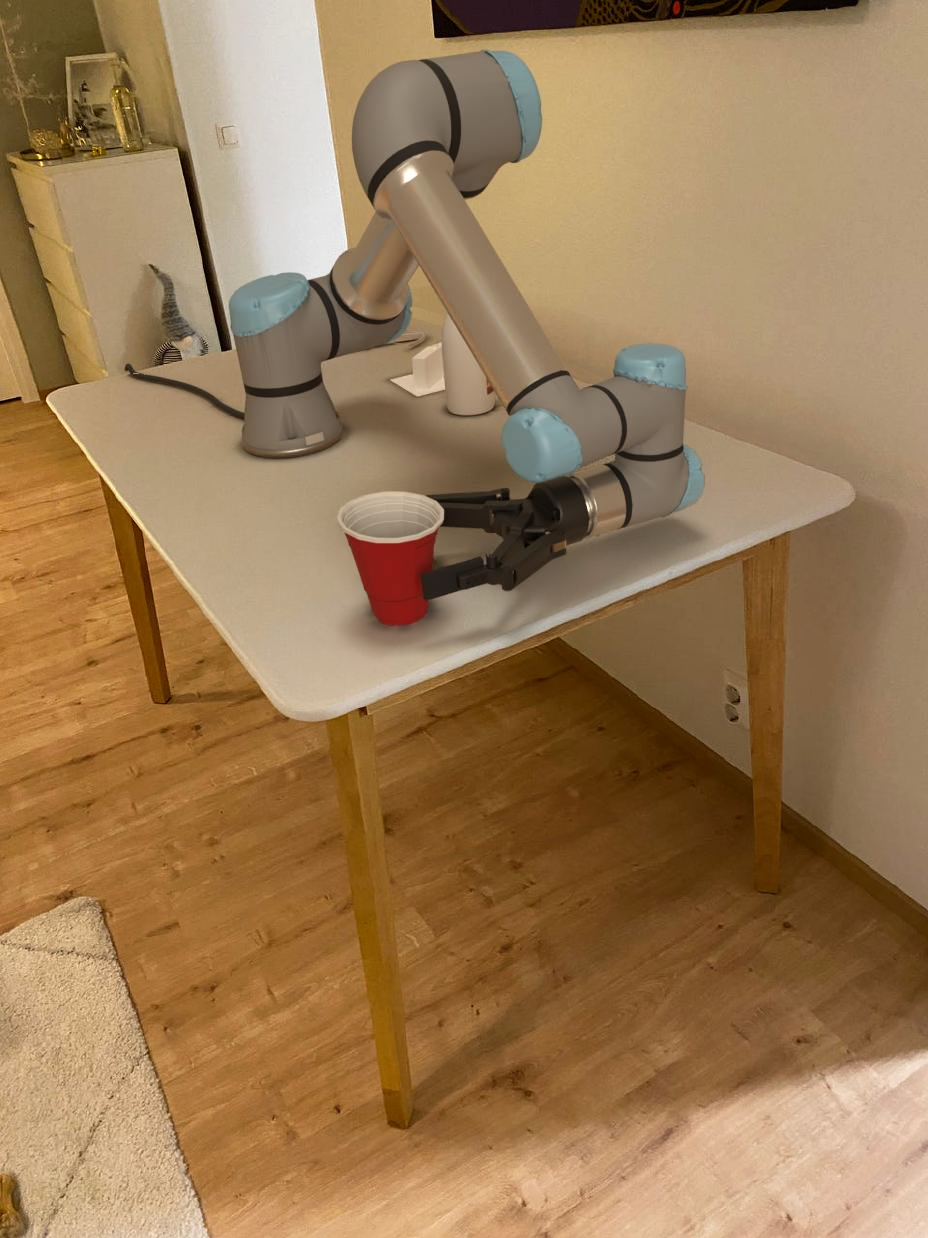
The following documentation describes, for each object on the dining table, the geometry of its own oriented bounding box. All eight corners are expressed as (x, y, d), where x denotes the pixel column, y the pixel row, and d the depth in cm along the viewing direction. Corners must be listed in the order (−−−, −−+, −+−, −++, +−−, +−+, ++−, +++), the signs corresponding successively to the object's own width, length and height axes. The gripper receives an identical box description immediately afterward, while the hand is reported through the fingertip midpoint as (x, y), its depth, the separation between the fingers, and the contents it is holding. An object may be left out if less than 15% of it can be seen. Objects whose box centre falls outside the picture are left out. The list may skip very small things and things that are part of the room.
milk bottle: (479, 419, 151) (469, 286, 140) (437, 413, 155) (425, 283, 144) (504, 402, 156) (496, 273, 146) (463, 397, 160) (453, 270, 149)
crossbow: (413, 333, 196) (413, 323, 195) (436, 349, 186) (435, 338, 185) (336, 343, 191) (335, 332, 190) (355, 359, 181) (354, 348, 180)
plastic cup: (441, 642, 99) (430, 537, 92) (340, 637, 101) (322, 534, 95) (463, 588, 108) (454, 488, 101) (369, 584, 110) (354, 486, 104)
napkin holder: (417, 396, 162) (414, 362, 159) (388, 379, 170) (384, 347, 167) (495, 376, 167) (493, 343, 164) (463, 361, 176) (461, 329, 173)
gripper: (638, 585, 100) (450, 647, 93) (522, 498, 120) (360, 544, 113) (639, 519, 96) (443, 578, 89) (519, 440, 116) (351, 484, 109)
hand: (396, 559), depth 101 cm, fingers open, 13 cm apart
